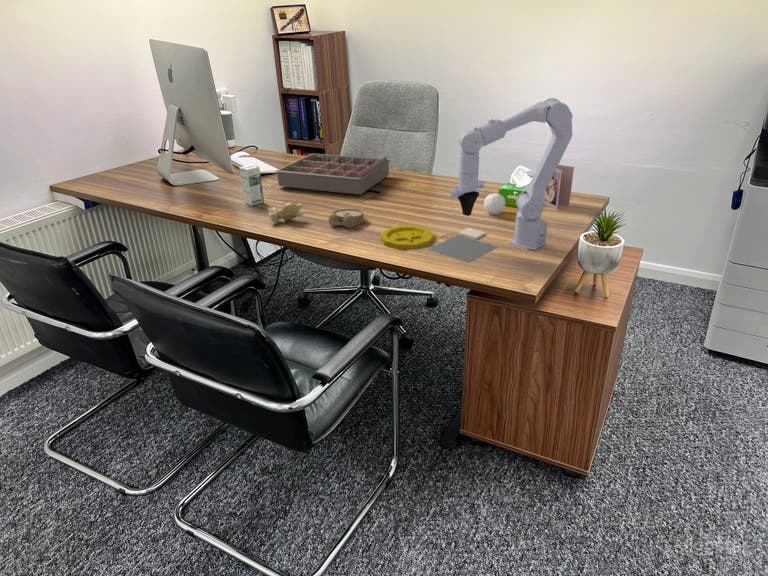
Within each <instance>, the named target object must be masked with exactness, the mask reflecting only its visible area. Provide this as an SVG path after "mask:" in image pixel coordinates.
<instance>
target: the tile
mask: <svg viewBox="0 0 768 576" xmlns="http://www.w3.org/2000/svg"><path fill="white" fill-rule="evenodd" d="M486 234H487V232H486V231H483V230H481V229H480V230H479V229H475V228H471V227H466V228H464V229H462V230H460V231H458V232H457V235H460V236H463V237H467V238H470V239H474V240H478V239H480V238H481V237H483V236H486Z"/></svg>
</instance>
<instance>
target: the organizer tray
mask: <svg viewBox="0 0 768 576" xmlns="http://www.w3.org/2000/svg"><path fill="white" fill-rule="evenodd" d="M391 161H392V160H391V159H388V156H387V155H385V156H383V157H382V158H372V157H371V158H370V157H359V156H350V155H349V156H347V155H336V154H325V153H324V154H323V153H321V154H320V153H310V154H308V155H306V156H304V157H301V158H299V159H297V160H295V161H293V162H291V163H288V164H287V165H285V166H283V167H280V168H278V169H277V170H275V171H274V172H276V173H277V174H276V175H277V182H278V187H283V188H284V187H286V188H296V189H306V190H312V191H325V192H333V193H342V194H353V195H362V194H364V193H365V192H366V191H368V190H369V189H371V188H373V187H374V186H375V185H377V184H378V183H380V182H381V181H382V180H384V179H386V178H387V177H388V176H389V175H390V162H391Z"/></svg>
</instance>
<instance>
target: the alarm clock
mask: <svg viewBox="0 0 768 576" xmlns="http://www.w3.org/2000/svg"><path fill="white" fill-rule="evenodd" d="M364 215H365V214H364V210H363V211H362V210H361V209H355V208H341V209H336V210H334V211H332V213H331V214H330V215H329V216H328V222H329V225H330V226H331V227H338V226H344V227H345V228H347V229H352V228H355V226H357V225H361V224H363V223H364V221H365V220H364Z"/></svg>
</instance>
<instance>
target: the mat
mask: <svg viewBox="0 0 768 576" xmlns="http://www.w3.org/2000/svg"><path fill="white" fill-rule="evenodd" d="M498 248H499V246H497V245H493V244H490V243H487V242H484V241H479V240H478V239H473V238H469V237H465V236H462V235H458V234H456V235H455V236H452V237H450V238H448V239H446V240H445V241H442V242H440V243H438V244H436V245H434V246H432V247H429V248H428V249H427V251H432V252H434V253H436V254H437V253H438V254H440V255H444V256H445V257H449V258H453V259H456V260H459V261H462V262H465V263H467V264H471V263H473V262H474V261H476V260H478V259H480V258H482V257H483V256H486V255H487V254H489V253H490V252H492V251H494V250H496V249H498Z"/></svg>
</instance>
